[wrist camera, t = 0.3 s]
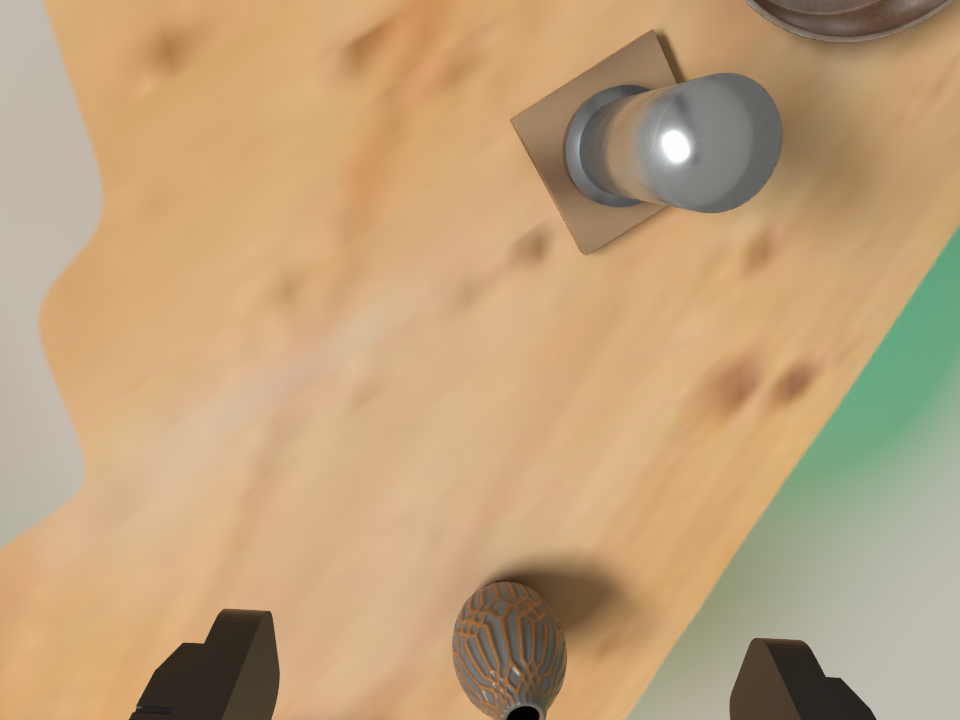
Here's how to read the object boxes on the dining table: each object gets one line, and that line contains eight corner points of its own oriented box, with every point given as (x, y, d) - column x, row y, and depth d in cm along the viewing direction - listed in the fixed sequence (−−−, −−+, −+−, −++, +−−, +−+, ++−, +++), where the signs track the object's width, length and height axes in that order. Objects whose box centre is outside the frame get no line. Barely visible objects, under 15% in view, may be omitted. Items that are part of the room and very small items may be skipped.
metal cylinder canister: (553, 101, 31) (626, 75, 21) (665, 74, 31) (793, 35, 21) (573, 217, 33) (649, 247, 23) (678, 191, 33) (802, 208, 23)
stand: (509, 119, 32) (512, 118, 31) (645, 33, 31) (653, 29, 30) (581, 252, 35) (586, 255, 34) (708, 174, 34) (716, 175, 33)
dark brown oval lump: (464, 556, 40) (479, 660, 32) (564, 573, 41) (604, 678, 33) (437, 642, 42) (444, 762, 34) (534, 655, 43) (564, 774, 35)
